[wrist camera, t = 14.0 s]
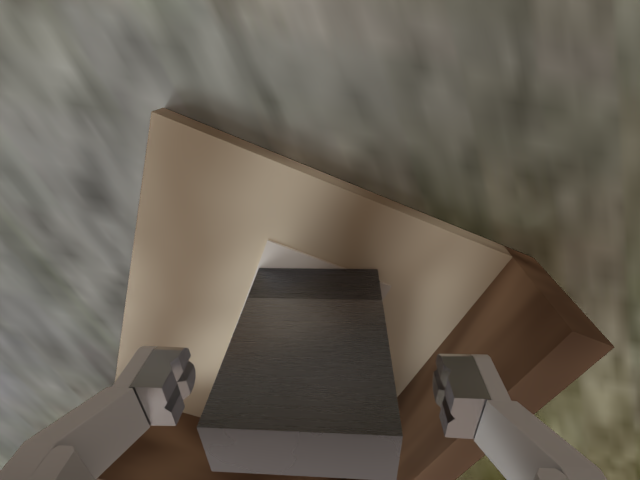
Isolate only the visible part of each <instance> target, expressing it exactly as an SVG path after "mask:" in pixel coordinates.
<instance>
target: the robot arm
mask: <svg viewBox="0 0 640 480" xmlns="http://www.w3.org/2000/svg"><path fill="white" fill-rule="evenodd" d="M190 357H191V354H190V351H189V348H183V347H164V346H142V347H140V348H139V349H138V350H137V351H136V353H135V354H134V356H133V357H132V358H131V360H130V361H129V363H128V364H127V366H126V367H125V369H124V370H123V371H122V373H121V374H120V376H119V377H118V379H117V380H116V382H115V383H114V384H113V386H112V387H107V388H105V389H103V390H102V391H100V392H99V393H97V394H96V395H94V396H93V397H91V398H90V399H88V400H87V401H85V402H84V403H82V404H81V405H79V406H78V407H76V408H75V409H73V410H72V411H70V412H69V413H67V414H66V415H64V416H63V417H61V418H60V419H58V420H57V421H55V422H54V423H52V424H51V425H49V426H48V427H46V428H45V429H43V430H41V431H40V432H38V433H37V434H35V435H34V436H32V437H31V438H29V439H28V440H26V441H25V442H24V443H23V444H22V445H21V446H20V448H19V449H18V450H17V451H16V453H15V454H14V455H13V456H12V457H11V459H10V460H9V461H8V462H7V464H6V465H5V466H4V467H3V468H2V470H1V471H0V480H96V479H97V478H98V477H99V476H100V475H101V474H102V473H103V472H104V471H105V470H106V469H107V468H108V467H109V466H110V465H111V464H112V463H113V462H115V461H116V460H117V459H118V458H119V457H120V456H121V455H122V454H123V453H124V452H125V451H126V450H127V449H128V448H129V447H130V446H131V445H132V444H133V443H134V442H135V441H136V440H137V439H138V438H139V437H141V436H142V435H143V434H144V433H145V432H146V431H147V430H148V429H149V428H150V426H176V425H177V423H178V421H179V419H180V416H181V414H182V412H183V410H184V408H185V405H184V401H183V400H184V399H185V398H186V397H188V396H189V395H190V394H191V392H192V389H193V387H194V383H195V378H196V372H195V367H194V364H192V363H191V362H190V361H189V359H190ZM436 366H437V369H436V370H435V371H434V373H433V379H432V380H433V393H434V398H435V402H436V404H437V405H438V406H439V407H440V408H441V410H440V414H439V418H440V421H441V425H442V429H443V432H444V436H445V437H449V438H463V439H474V442H475V443H476V444H477V445H478V446H479V447H480V449H481V450H482V451H483V452H484V453H485V455H486V456H487V457H488V458H489V459H490V461H491V462H492V463H493V464H494V465H495V466H496V468H497V469H498V470H499V471H500V472H501V474H502V475H503V476H504V477H505V478H506V479H507V480H607V479H606V477H605V476H604V474H603V472H602V471H601V469H600V468H598V467H597V466H596V465H595V464H593V463H592V462H591V461H590V460H588V459H587V458H586V457H585V456H584V455H582V454H581V453H580V452H579V451H577V450H576V449H575V448H574V447H572V446H571V445H570V444H569V443H568V442H566V441H565V440H564V439H563V438H561V437H560V436H559V435H558V434H557V433H555V432H554V431H553V430H552V429H550V428H549V427H548V426H547V425H545V424H544V423H543V422H542V421H541V420H539V419H538V418H537V417H536V416H534V415H533V414H532V413H531V412H530V411H528V410H527V409H526V408H525V407H523V406H522V405H521V404H520V403H518V402H517V401H511V399H510V396H509V394H508V392H507V390H506V388H505V386H504V384H503V382H502V380H501V378H500V376H499V374H498V372H497V370H496V368H495V366H494V364H493V362H492V359H491V357H490V356H488V355H481V354H471V355H470V354H438V355H437V357H436Z"/></svg>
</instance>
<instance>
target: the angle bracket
mask: <svg viewBox="0 0 640 480" xmlns="http://www.w3.org/2000/svg"><path fill="white" fill-rule="evenodd" d="M197 430H198V433H199V436H200V439H201V442H202V445H203V448H204V450H205V453H206V456H207V459H208V462H209V465H210V468H211V471H215V472H234V473H253V474H272V475H290V476H309V477H328V478H347V479H366V480H396V479H397V473H398V466H399V459H400V453H401V446H402V439H403V434H402V427H401V420H400V414H399V407H398V400H397V394H396V387H395V381H394V374H393V367H392V361H391V354H390V347H389V341H388V334H387V328H386V321H385V314H384V308H383V301H382V294H381V288H380V281H379V275H378V269H314V268H259V269H258V272H257V274H256V277H255V279H254V282H253V284H252V287H251V290H250V292H249V295H248V297H247V300H246V302H245V305H244V307H243V310H242V313H241V315H240V318H239V320H238V323H237V325H236V328H235V330H234V333H233V336H232V338H231V341H230V343H229V346H228V348H227V351H226V353H225V356H224V359H223V361H222V364H221V366H220V369H219V371H218V374H217V376H216V379H215V382H214V384H213V387H212V389H211V392H210V394H209V397H208V399H207V402H206V405H205V407H204V410H203V412H202V415H201V417H200V420H199V422H198V425H197Z"/></svg>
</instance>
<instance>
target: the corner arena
mask: <svg viewBox="0 0 640 480" xmlns="http://www.w3.org/2000/svg"><path fill="white" fill-rule="evenodd" d="M259 268H314V269H378V275H379V281H380V288H381V294H382V301H383V308H384V314H385V321H386V328H387V334H388V341H389V347H390V354H391V361H392V367H393V374H394V381H395V387H396V394H397V400H398V407H399V414H400V420H401V427H402V434H403V439H402V446H401V453H400V459H399V466H398V473H397V479H396V480H456V479H457V478H458V477H459V476H460V475H462V474H463V473H464V472H465V471H466V470H468V469H469V468H470V467H471V466H472V465H474V464H475V463H476V462H477V461H478V460H480V459H481V458H482V457H483V456H484V455H485V453H484V452H483V451H482V450H481V449H480V447H479V446H478V445H477V444H476V443H475V442H474V439H463V438H449V437H445V436H444V432H443V429H442V425H441V421H440V418H439V414H440V410H441V408H440V407H439V406H438V405H437V404H436V402H435V398H434V393H433V380H432V379H433V373H434V371H435V370H436V369H437V366H436V357H437V355H438V354H470V355H471V354H481V355H488V356H490V357H491V359H492V362H493V364H494V366H495V368H496V370H497V372H498V374H499V376H500V378H501V380H502V382H503V384H504V386H505V388H506V390H507V392H508V394H509V396H510V399H511V401H517V402H518V403H520V404H521V405H522V406H523V407H525V408H526V409H527V410H528V411H530V412H531V413H532V414H533V415H534V414H535V413H536V412H537V411H538V410H540V409H541V408H542V407H543V406H544V405H546V404H547V403H548V402H549V401H550V400H552V399H553V398H554V397H555V396H556V395H558V394H559V393H560V392H561V391H562V390H564V389H565V388H566V387H567V386H568V385H570V384H571V383H572V382H573V381H574V380H576V379H577V378H578V377H579V376H580V375H582V374H583V373H584V372H585V371H586V370H588V369H589V368H590V367H591V366H592V365H594V364H595V363H596V362H597V361H598V360H600V359H601V358H602V357H603V356H604V355H606V354H607V353H608V352H609V351H610V350H612V349H613V348H614V346H613V345H612V344H611V343H610V342H609V340H608V339H607V338H606V337H605V336H604V335H603V334H602V333H601V332H600V331H599V329H598V328H597V327H596V326H595V325H594V324H593V323H592V322H591V321H590V319H589V318H588V317H587V316H586V315H585V314H584V313H583V312H582V311H581V310H580V308H579V307H578V306H577V305H576V304H575V303H574V302H573V301H572V300H571V299H570V297H569V296H568V295H567V294H566V293H565V292H564V291H563V290H562V289H561V288H560V286H559V285H558V284H557V283H556V282H555V281H554V280H553V279H552V278H551V277H550V275H549V274H548V273H547V272H546V271H545V270H544V269H543V268H542V267H541V265H540V264H539V263H538V262H537V261H536V260H535V259H534V258H533V257H530V256H528V255H525V254H523V253H520V252H518V251H515V250H513V249H511V248H508V247H506V246H503V245H501V244H498V243H496V242H493V241H491V240H488V239H486V238H483V237H481V236H479V235H476V234H474V233H471V232H469V231H466V230H464V229H461V228H459V227H456V226H454V225H451V224H449V223H447V222H444V221H442V220H439V219H437V218H434V217H432V216H429V215H427V214H424V213H422V212H419V211H417V210H415V209H412V208H410V207H407V206H405V205H402V204H400V203H397V202H395V201H392V200H390V199H387V198H385V197H383V196H380V195H378V194H375V193H373V192H370V191H368V190H365V189H363V188H360V187H358V186H355V185H353V184H351V183H348V182H346V181H343V180H341V179H338V178H336V177H333V176H331V175H328V174H326V173H323V172H321V171H318V170H316V169H314V168H311V167H309V166H306V165H304V164H301V163H299V162H296V161H294V160H291V159H289V158H286V157H284V156H282V155H279V154H277V153H274V152H272V151H269V150H267V149H264V148H262V147H259V146H257V145H254V144H252V143H250V142H247V141H245V140H242V139H240V138H237V137H235V136H232V135H230V134H227V133H225V132H222V131H220V130H218V129H215V128H213V127H210V126H208V125H205V124H203V123H200V122H198V121H195V120H193V119H190V118H188V117H186V116H183V115H181V114H178V113H176V112H173V111H171V110H168V109H166V108H161V109H158V110H155V111H152V112H151V119H150V127H149V134H148V141H147V149H146V156H145V164H144V171H143V178H142V186H141V193H140V200H139V208H138V215H137V222H136V230H135V237H134V244H133V252H132V259H131V267H130V274H129V281H128V289H127V296H126V303H125V311H124V318H123V325H122V333H121V340H120V347H119V355H118V362H117V370H116V377H115V382H116V380H117V379H118V377H119V376H120V374H121V373H122V371H123V370H124V369H125V367H126V366H127V364H128V363H129V361H130V360H131V358H132V357H133V356H134V354H135V353H136V351H137V350H138V349H139V348H140V347H142V346H164V347H183V348H189V351H190V354H191V357H190V359H189V361H190V362H191V363H192V364H194V367H195V372H196V378H195V383H194V387H193V389H192V392H191V394H190V395H189V396H188V397H186V398H185V399H184V400H183V401H184V405H185V408H184V410H183V412H182V414H181V416H180V419H179V421H178V423H177V425H176V426H150V428H149V429H148V430H147V431H146V432H145V433H144V434H143V435H142V436H141V437H139V438H138V439H137V440H136V441H135V442H134V443H133V444H132V445H131V446H130V447H129V448H128V449H127V450H126V451H125V452H124V453H123V454H122V455H121V456H120V457H119V458H118V459H117V460H116V461H115V462H113V463H112V464H111V465H110V466H109V467H108V468H107V469H106V470H105V471H104V472H103V473H102V474H101V475H100V476H99V477H98V478H97V479H96V480H366V479H347V478H328V477H309V476H290V475H272V474H253V473H234V472H215V471H211V468H210V465H209V462H208V459H207V456H206V453H205V450H204V448H203V445H202V442H201V439H200V436H199V433H198V430H197V425H198V422H199V420H200V417H201V415H202V412H203V410H204V407H205V405H206V402H207V399H208V397H209V394H210V392H211V389H212V387H213V384H214V382H215V379H216V376H217V374H218V371H219V369H220V366H221V364H222V361H223V359H224V356H225V353H226V351H227V348H228V346H229V343H230V341H231V338H232V336H233V333H234V330H235V328H236V325H237V323H238V320H239V318H240V315H241V313H242V310H243V307H244V305H245V302H246V300H247V297H248V295H249V292H250V290H251V287H252V284H253V282H254V279H255V277H256V274H257V272H258V269H259Z"/></svg>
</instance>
